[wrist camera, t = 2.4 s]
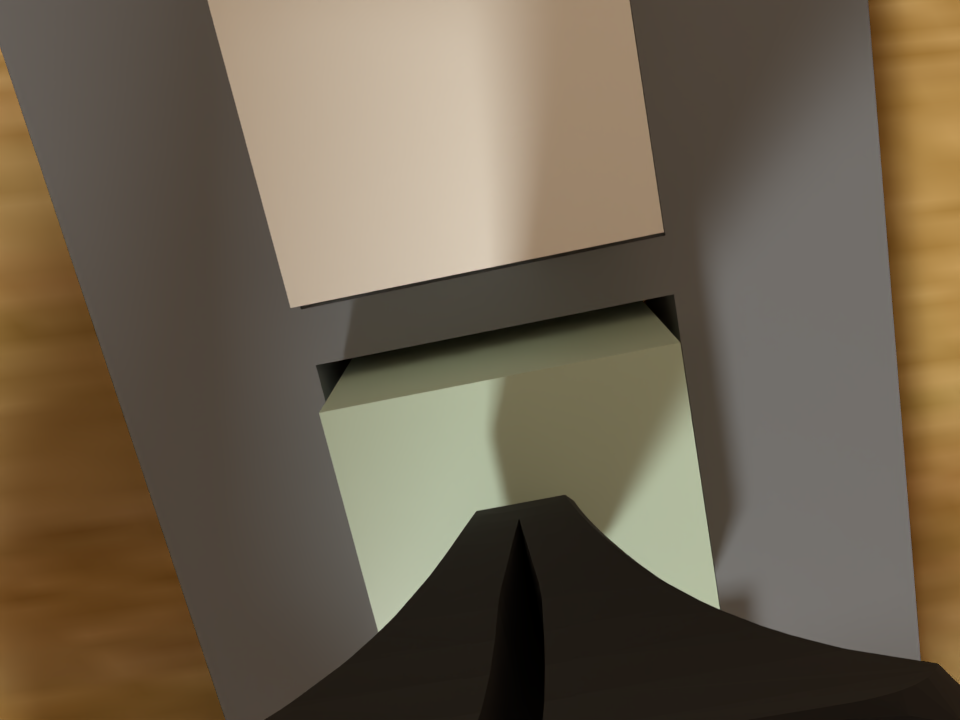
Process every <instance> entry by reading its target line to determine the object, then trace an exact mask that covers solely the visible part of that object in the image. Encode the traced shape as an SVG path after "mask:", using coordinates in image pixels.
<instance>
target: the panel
mask: <svg viewBox="0 0 960 720" xmlns="http://www.w3.org/2000/svg"><path fill="white" fill-rule="evenodd" d="M629 1H630V8H631V14H632V21H633V28H634V34H635V41H636V48H637V55H638V61H639V68H640V75H641V81H642V88H643V95H644V102H645V108H646V115H647V122H648V129H649V135H650V142H651V149H652V155H653V162H654V169H655V176H656V182H657V189H658V196H659V203H660V209H661V216H662V223H663V229H664V232H662V233H657V234H652V235H647V236H643V237H638V238H633V239H628V240H623V241H618V242H613V243H608V244H603V245H598V246H593V247H588V248H584V249H579V250H574V251H569V252H564V253H559V254H554V255H549V256H544V257H539V258H534V259H529V260H525V261H520V262H515V263H510V264H505V265H500V266H495V267H490V268H485V269H480V270H475V271H470V272H466V273H461V274H456V275H451V276H446V277H441V278H436V279H431V280H426V281H421V282H416V283H411V284H407V285H402V286H397V287H392V288H387V289H382V290H377V291H372V292H367V293H362V294H357V295H352V296H348V297H343V298H338V299H333V300H328V301H323V302H318V303H313V304H308V305H303V306H298V307H293V308H290V304H289V300H288V297H287V293H286V289H285V285H284V282H283V278H282V274H281V271H280V267H279V263H278V260H277V256H276V252H275V248H274V245H273V241H272V237H271V234H270V230H269V226H268V223H267V219H266V215H265V212H264V208H263V204H262V200H261V197H260V193H259V189H258V186H257V182H256V178H255V175H254V171H253V167H252V163H251V160H250V156H249V152H248V149H247V145H246V141H245V138H244V134H243V130H242V126H241V123H240V119H239V115H238V112H237V108H236V104H235V101H234V97H233V93H232V89H231V86H230V82H229V78H228V75H227V71H226V67H225V64H224V60H223V56H222V53H221V49H220V45H219V41H218V38H217V34H216V30H215V27H214V23H213V19H212V16H211V12H210V8H209V4H208V1H207V0H0V48H1V51H2V54H3V57H4V60H5V63H6V65H7V68H8V71H9V74H10V77H11V80H12V83H13V86H14V89H15V92H16V95H17V98H18V101H19V104H20V107H21V110H22V113H23V116H24V119H25V122H26V125H27V128H28V131H29V134H30V137H31V140H32V143H33V146H34V149H35V152H36V155H37V158H38V161H39V164H40V167H41V170H42V173H43V176H44V179H45V182H46V185H47V188H48V191H49V194H50V197H51V200H52V203H53V206H54V209H55V212H56V215H57V218H58V221H59V224H60V227H61V230H62V233H63V236H64V239H65V242H66V245H67V248H68V251H69V254H70V257H71V260H72V263H73V266H74V269H75V272H76V275H77V278H78V281H79V284H80V287H81V290H82V293H83V296H84V299H85V302H86V305H87V308H88V311H89V314H90V316H91V319H92V322H93V325H94V328H95V331H96V334H97V337H98V340H99V343H100V346H101V349H102V352H103V355H104V358H105V361H106V364H107V367H108V370H109V373H110V376H111V379H112V382H113V385H114V388H115V391H116V394H117V397H118V400H119V403H120V406H121V409H122V412H123V415H124V418H125V421H126V424H127V427H128V430H129V433H130V436H131V439H132V442H133V445H134V448H135V451H136V454H137V457H138V460H139V463H140V466H141V469H142V472H143V475H144V478H145V481H146V484H147V487H148V490H149V493H150V496H151V499H152V502H153V505H154V508H155V511H156V514H157V517H158V520H159V523H160V526H161V529H162V532H163V535H164V538H165V541H166V544H167V547H168V550H169V553H170V556H171V559H172V562H173V565H174V568H175V570H176V573H177V576H178V579H179V582H180V585H181V588H182V591H183V594H184V597H185V600H186V603H187V606H188V609H189V612H190V615H191V618H192V621H193V624H194V627H195V630H196V633H197V636H198V639H199V642H200V645H201V648H202V651H203V654H204V657H205V660H206V663H207V666H208V669H209V672H210V675H211V678H212V681H213V684H214V687H215V690H216V693H217V696H218V699H219V702H220V705H221V708H222V711H223V714H224V717H225V720H265V719H266V718H268V717H269V716H271V715H273V714H274V713H276V712H277V711H279V710H280V709H282V708H283V707H285V706H286V705H288V704H289V703H291V702H292V701H294V700H295V699H296V698H298V697H299V696H300V695H302V694H303V693H304V692H306V691H307V690H308V689H310V688H311V687H313V686H314V685H315V684H317V683H318V682H319V681H321V680H322V679H323V678H325V677H326V676H327V675H329V674H330V673H331V672H333V671H334V670H336V669H337V668H338V667H340V666H341V665H342V664H343V663H344V662H346V661H347V660H348V659H349V658H351V657H352V656H353V655H354V654H355V653H356V652H357V651H358V650H360V649H361V648H362V647H363V646H364V645H365V644H366V643H367V642H368V641H370V640H371V639H372V638H373V637H374V636H375V635H376V634H377V633H378V629H377V626H376V622H375V618H374V615H373V611H372V607H371V604H370V600H369V596H368V592H367V589H366V585H365V581H364V578H363V574H362V570H361V567H360V563H359V559H358V555H357V552H356V548H355V544H354V541H353V537H352V533H351V530H350V526H349V522H348V518H347V515H346V511H345V507H344V504H343V500H342V496H341V493H340V489H339V485H338V481H337V478H336V474H335V470H334V467H333V463H332V459H331V456H330V452H329V448H328V444H327V441H326V437H325V433H324V430H323V426H322V422H321V419H320V415H319V412H320V410H321V409H322V407H323V405H324V404H325V402H326V401H327V399H328V397H329V396H330V394H331V392H332V391H333V389H334V387H335V386H336V384H337V383H338V381H339V379H340V378H341V376H342V374H343V373H344V371H345V369H346V368H347V366H348V365H349V363H350V361H351V360H352V358H355V357H360V356H365V355H370V354H375V353H380V352H385V351H390V350H395V349H400V348H405V347H410V346H415V345H420V344H425V343H431V342H436V341H441V340H446V339H451V338H456V337H461V336H466V335H471V334H476V333H481V332H486V331H491V330H496V329H501V328H506V327H511V326H516V325H521V324H526V323H531V322H536V321H541V320H546V319H551V318H556V317H562V316H567V315H572V314H577V313H582V312H587V311H592V310H597V309H602V308H607V307H612V306H617V305H622V304H627V303H632V302H637V301H642V300H646V305H647V306H648V307H649V308H650V310H651V311H652V312H653V313H654V314H655V315H656V316H657V317H658V318H659V320H660V321H661V322H662V323H663V324H664V325H665V326H666V327H667V328H668V329H669V331H670V332H671V333H672V334H673V335H674V336H675V337H676V338H677V339H678V341H679V342H680V344H681V351H682V357H683V364H684V371H685V377H686V384H687V391H688V398H689V404H690V411H691V418H692V425H693V431H694V438H695V445H696V451H697V458H698V465H699V472H700V478H701V485H702V492H703V499H704V505H705V512H706V519H707V525H708V532H709V539H710V546H711V552H712V559H713V566H714V572H715V579H716V586H717V593H718V599H719V606H720V610H722V611H725V612H727V613H730V614H732V615H735V616H737V617H740V618H743V619H745V620H748V621H750V622H753V623H756V624H758V625H761V626H764V627H767V628H770V629H773V630H777V631H780V632H783V633H786V634H789V635H793V636H797V637H801V638H805V639H808V640H812V641H816V642H820V643H824V644H828V645H832V646H836V647H840V648H845V649H850V650H856V651H862V652H869V653H875V654H881V655H887V656H894V657H900V658H906V659H912V660H918V661H921V657H920V645H919V632H918V620H917V607H916V595H915V582H914V570H913V557H912V545H911V532H910V520H909V507H908V495H907V482H906V470H905V457H904V445H903V432H902V420H901V407H900V395H899V382H898V369H897V357H896V344H895V332H894V319H893V307H892V294H891V282H890V269H889V257H888V244H887V232H886V219H885V207H884V194H883V182H882V169H881V157H880V144H879V132H878V119H877V106H876V94H875V81H874V69H873V56H872V44H871V31H870V19H869V6H868V0H629Z"/></svg>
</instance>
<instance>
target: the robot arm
mask: <svg viewBox="0 0 960 720" xmlns="http://www.w3.org/2000/svg"><path fill="white" fill-rule="evenodd" d="M265 720H960V684H958V683H957V682H956V681H955V680H954V679H953V678H952V677H951V676H950V675H949V674H948V673H947V672H946V671H945V670H944V669H943V668H942V667H941V666H940V665H939V664H937V663H931V662H925V661H918V660H912V659H906V658H900V657H894V656H887V655H881V654H875V653H869V652H862V651H856V650H850V649H845V648H840V647H836V646H832V645H828V644H824V643H820V642H816V641H812V640H808V639H805V638H801V637H797V636H793V635H789V634H786V633H783V632H780V631H777V630H773V629H770V628H767V627H764V626H761V625H758V624H756V623H753V622H750V621H748V620H745V619H743V618H740V617H737V616H735V615H732V614H730V613H727V612H725V611H722V610H720V609H717V608H715V607H713V606H711V605H709V604H706V603H704V602H702V601H700V600H698V599H696V598H694V597H692V596H691V595H689V594H687V593H685V592H683V591H681V590H679V589H677V588H676V587H674V586H672V585H670V584H668V583H666V582H665V581H663V580H661V579H660V578H659V577H657V576H656V575H654V574H653V573H651V572H650V571H649V570H647V569H646V568H644V567H643V566H642V565H640V564H639V563H638V562H636V561H635V560H634V559H632V558H631V557H630V556H629V555H627V554H626V553H625V552H624V551H623V550H622V549H620V548H619V547H618V546H617V545H616V544H615V543H613V542H612V541H611V540H610V539H609V538H608V537H606V536H605V535H604V534H603V533H602V532H601V531H600V530H599V529H598V528H597V527H596V526H595V525H594V524H593V523H592V522H591V521H590V520H589V519H588V518H587V517H586V515H585V514H584V513H583V512H582V511H581V510H580V508H579V507H578V506H577V504H576V503H575V501H574V500H572V499H571V498H569V497H568V496H566V495H561V496H555V497H550V498H544V499H539V500H533V501H528V502H523V503H517V504H512V505H506V506H501V507H496V508H490V509H485V510H479V511H476V512H475V514H474V515H473V516H472V518H471V519H470V520H469V522H468V523H467V524H466V526H465V527H464V529H463V530H462V532H461V533H460V534H459V536H458V537H457V539H456V540H455V542H454V543H453V545H452V546H451V547H450V549H449V550H448V552H447V553H446V554H445V556H444V557H443V559H442V560H441V561H440V563H439V564H438V565H437V567H436V568H435V569H434V571H433V572H432V573H431V575H430V576H429V577H428V578H427V580H426V581H425V582H424V583H423V584H422V585H421V586H420V588H419V589H418V590H417V591H416V592H415V593H414V595H413V596H412V597H411V598H410V599H409V600H408V601H407V603H406V604H405V605H404V606H403V607H402V608H401V610H400V611H399V612H398V613H397V614H396V615H395V616H394V617H393V618H392V619H391V620H390V621H389V622H388V623H387V624H386V625H385V626H384V627H383V628H382V629H381V630H380V631H379V632H378V633H377V634H376V635H375V636H374V637H373V638H372V639H371V640H370V641H368V642H367V643H366V644H365V645H364V646H363V647H362V648H361V649H360V650H358V651H357V652H356V653H355V654H354V655H353V656H352V657H351V658H349V659H348V660H347V661H346V662H344V663H343V664H342V665H341V666H340V667H338V668H337V669H336V670H334V671H333V672H331V673H330V674H329V675H327V676H326V677H325V678H323V679H322V680H321V681H319V682H318V683H317V684H315V685H314V686H313V687H311V688H310V689H308V690H307V691H306V692H304V693H303V694H302V695H300V696H299V697H298V698H296V699H295V700H294V701H292V702H291V703H289V704H288V705H286V706H285V707H283V708H282V709H280V710H279V711H277V712H276V713H274V714H273V715H271V716H269V717H268V718H266V719H265Z"/></svg>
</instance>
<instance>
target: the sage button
mask: <svg viewBox="0 0 960 720" xmlns="http://www.w3.org/2000/svg"><path fill="white" fill-rule="evenodd" d="M319 415H320V419H321V422H322V426H323V430H324V433H325V437H326V441H327V444H328V448H329V452H330V456H331V459H332V463H333V467H334V470H335V474H336V478H337V481H338V485H339V489H340V493H341V496H342V500H343V504H344V507H345V511H346V515H347V518H348V522H349V526H350V530H351V533H352V537H353V541H354V544H355V548H356V552H357V555H358V559H359V563H360V567H361V570H362V574H363V578H364V581H365V585H366V589H367V592H368V596H369V600H370V604H371V607H372V611H373V615H374V618H375V622H376V626H377V629H378V632H379V631H380V630H381V629H382V628H383V627H384V626H385V625H386V624H387V623H388V622H389V621H390V620H391V619H392V618H393V617H394V616H395V615H396V614H397V613H398V612H399V611H400V610H401V608H402V607H403V606H404V605H405V604H406V603H407V601H408V600H409V599H410V598H411V597H412V596H413V595H414V593H415V592H416V591H417V590H418V589H419V588H420V586H421V585H422V584H423V583H424V582H425V581H426V580H427V578H428V577H429V576H430V575H431V573H432V572H433V571H434V569H435V568H436V567H437V565H438V564H439V563H440V561H441V560H442V559H443V557H444V556H445V554H446V553H447V552H448V550H449V549H450V547H451V546H452V545H453V543H454V542H455V540H456V539H457V537H458V536H459V534H460V533H461V532H462V530H463V529H464V527H465V526H466V524H467V523H468V522H469V520H470V519H471V518H472V516H473V515H474V514H475V512H476V511H479V510H485V509H490V508H496V507H501V506H506V505H512V504H517V503H523V502H528V501H533V500H539V499H544V498H550V497H555V496H561V495H566V496H568V497H569V498H571V499H572V500H574V501H575V503H576V504H577V506H578V507H579V508H580V510H581V511H582V512H583V513H584V514H585V515H586V517H587V518H588V519H589V520H590V521H591V522H592V523H593V524H594V525H595V526H596V527H597V528H598V529H599V530H600V531H601V532H602V533H603V534H604V535H605V536H606V537H608V538H609V539H610V540H611V541H612V542H613V543H615V544H616V545H617V546H618V547H619V548H620V549H622V550H623V551H624V552H625V553H626V554H627V555H629V556H630V557H631V558H632V559H634V560H635V561H636V562H638V563H639V564H640V565H642V566H643V567H644V568H646V569H647V570H649V571H650V572H651V573H653V574H654V575H656V576H657V577H659V578H660V579H661V580H663V581H665V582H666V583H668V584H670V585H672V586H674V587H676V588H677V589H679V590H681V591H683V592H685V593H687V594H689V595H691V596H692V597H694V598H696V599H698V600H700V601H702V602H704V603H706V604H709V605H711V606H713V607H715V608H717V609H720V606H719V599H718V593H717V586H716V579H715V572H714V566H713V559H712V552H711V546H710V539H709V532H708V525H707V519H706V512H705V505H704V499H703V492H702V485H701V478H700V472H699V465H698V458H697V451H696V445H695V438H694V431H693V425H692V418H691V411H690V404H689V398H688V391H687V384H686V377H685V371H684V364H683V357H682V351H681V344H680V342H679V341H678V339H677V338H676V337H675V336H674V335H673V334H672V333H671V332H670V331H669V329H668V328H667V327H666V326H665V325H664V324H663V323H662V322H661V321H660V320H659V318H658V317H657V316H656V315H655V314H654V313H653V312H652V311H651V310H650V308H649V307H648V306H647V305H646V304H645V303H644V302H643V301H637V302H632V303H627V304H622V305H617V306H612V307H607V308H602V309H597V310H592V311H587V312H582V313H577V314H572V315H567V316H562V317H556V318H551V319H546V320H541V321H536V322H531V323H526V324H521V325H516V326H511V327H506V328H501V329H496V330H491V331H486V332H481V333H476V334H471V335H466V336H461V337H456V338H451V339H446V340H441V341H436V342H431V343H425V344H420V345H415V346H410V347H405V348H400V349H395V350H390V351H385V352H380V353H375V354H370V355H365V356H360V357H355V358H352V360H351V361H350V363H349V365H348V366H347V368H346V369H345V371H344V373H343V374H342V376H341V378H340V379H339V381H338V383H337V384H336V386H335V387H334V389H333V391H332V392H331V394H330V396H329V397H328V399H327V401H326V402H325V404H324V405H323V407H322V409H321V410H320V412H319Z"/></svg>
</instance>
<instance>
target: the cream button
mask: <svg viewBox="0 0 960 720" xmlns="http://www.w3.org/2000/svg"><path fill="white" fill-rule="evenodd" d="M207 1H208V4H209V8H210V12H211V16H212V19H213V23H214V27H215V30H216V34H217V38H218V41H219V45H220V49H221V53H222V56H223V60H224V64H225V67H226V71H227V75H228V78H229V82H230V86H231V89H232V93H233V97H234V101H235V104H236V108H237V112H238V115H239V119H240V123H241V126H242V130H243V134H244V138H245V141H246V145H247V149H248V152H249V156H250V160H251V163H252V167H253V171H254V175H255V178H256V182H257V186H258V189H259V193H260V197H261V200H262V204H263V208H264V212H265V215H266V219H267V223H268V226H269V230H270V234H271V237H272V241H273V245H274V248H275V252H276V256H277V260H278V263H279V267H280V271H281V274H282V278H283V282H284V285H285V289H286V293H287V297H288V300H289V304H290V308H293V307H298V306H303V305H308V304H313V303H318V302H323V301H328V300H333V299H338V298H343V297H348V296H352V295H357V294H362V293H367V292H372V291H377V290H382V289H387V288H392V287H397V286H402V285H407V284H411V283H416V282H421V281H426V280H431V279H436V278H441V277H446V276H451V275H456V274H461V273H466V272H470V271H475V270H480V269H485V268H490V267H495V266H500V265H505V264H510V263H515V262H520V261H525V260H529V259H534V258H539V257H544V256H549V255H554V254H559V253H564V252H569V251H574V250H579V249H584V248H588V247H593V246H598V245H603V244H608V243H613V242H618V241H623V240H628V239H633V238H638V237H643V236H647V235H652V234H657V233H662V232H664V229H663V223H662V216H661V209H660V203H659V196H658V189H657V182H656V176H655V169H654V162H653V155H652V149H651V142H650V135H649V129H648V122H647V115H646V108H645V102H644V95H643V88H642V81H641V75H640V68H639V61H638V55H637V48H636V41H635V34H634V28H633V21H632V14H631V8H630V1H629V0H207Z"/></svg>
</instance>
